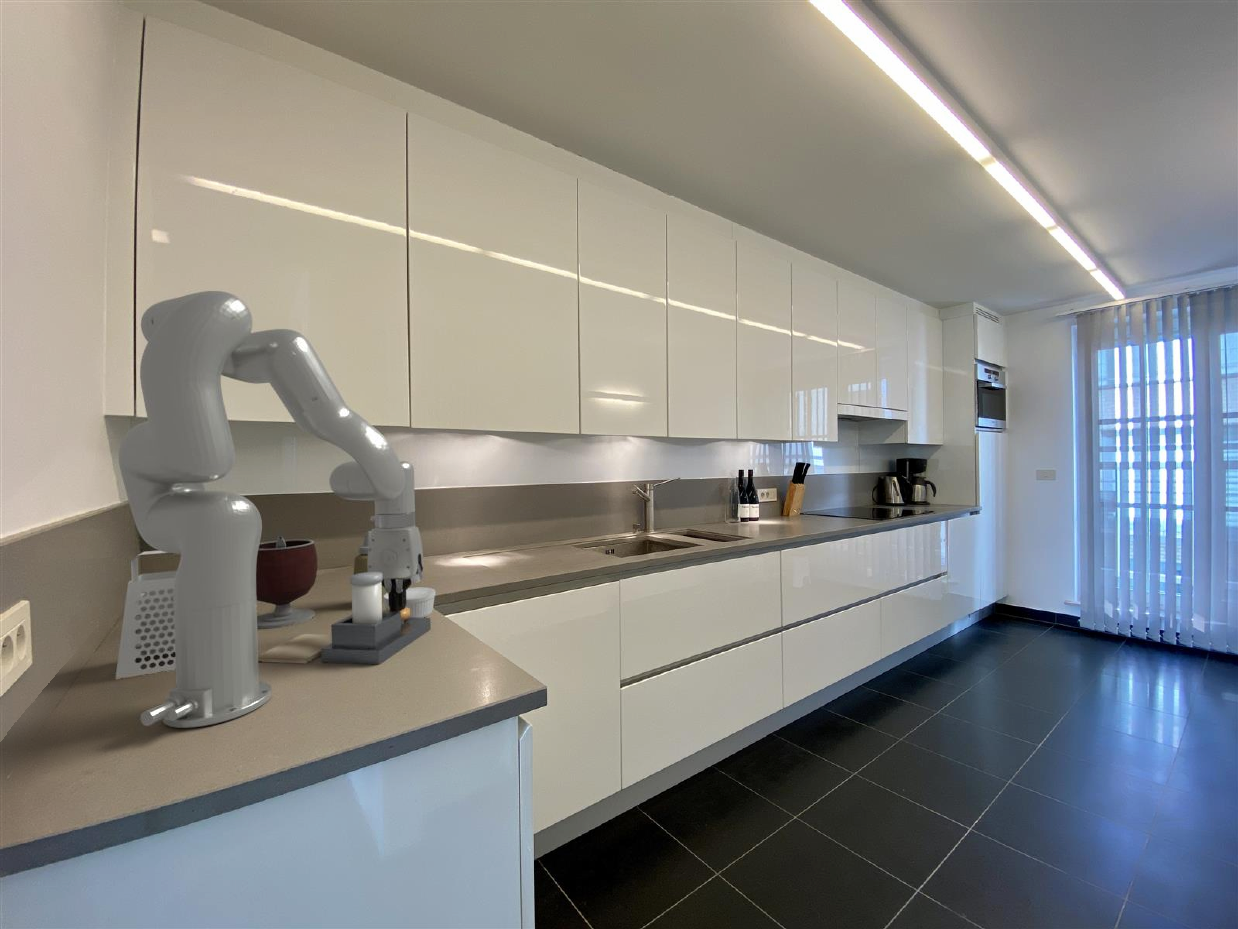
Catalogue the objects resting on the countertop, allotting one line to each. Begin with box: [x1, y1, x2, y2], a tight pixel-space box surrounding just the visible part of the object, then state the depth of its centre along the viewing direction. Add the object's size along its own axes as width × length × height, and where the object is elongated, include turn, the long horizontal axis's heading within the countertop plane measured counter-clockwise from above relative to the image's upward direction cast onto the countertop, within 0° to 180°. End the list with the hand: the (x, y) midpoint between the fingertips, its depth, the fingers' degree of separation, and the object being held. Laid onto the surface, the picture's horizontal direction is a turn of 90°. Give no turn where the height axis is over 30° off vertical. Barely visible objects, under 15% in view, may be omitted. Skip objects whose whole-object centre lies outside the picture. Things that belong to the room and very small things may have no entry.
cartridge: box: [349, 572, 383, 624], centre depth 96 cm, size 5×5×12 cm
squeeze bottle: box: [353, 530, 387, 603], centre depth 129 cm, size 8×8×18 cm
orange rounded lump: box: [385, 607, 410, 625], centre depth 106 cm, size 5×5×4 cm
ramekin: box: [383, 586, 437, 618], centre depth 119 cm, size 11×11×5 cm
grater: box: [115, 550, 177, 678], centre depth 93 cm, size 10×10×20 cm
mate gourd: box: [256, 535, 318, 630], centre depth 116 cm, size 16×14×20 cm
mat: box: [258, 633, 332, 664], centre depth 98 cm, size 12×10×1 cm
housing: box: [320, 610, 431, 665], centre depth 100 cm, size 18×11×6 cm, turn 173°
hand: (397, 610), depth 107 cm, fingers closed
